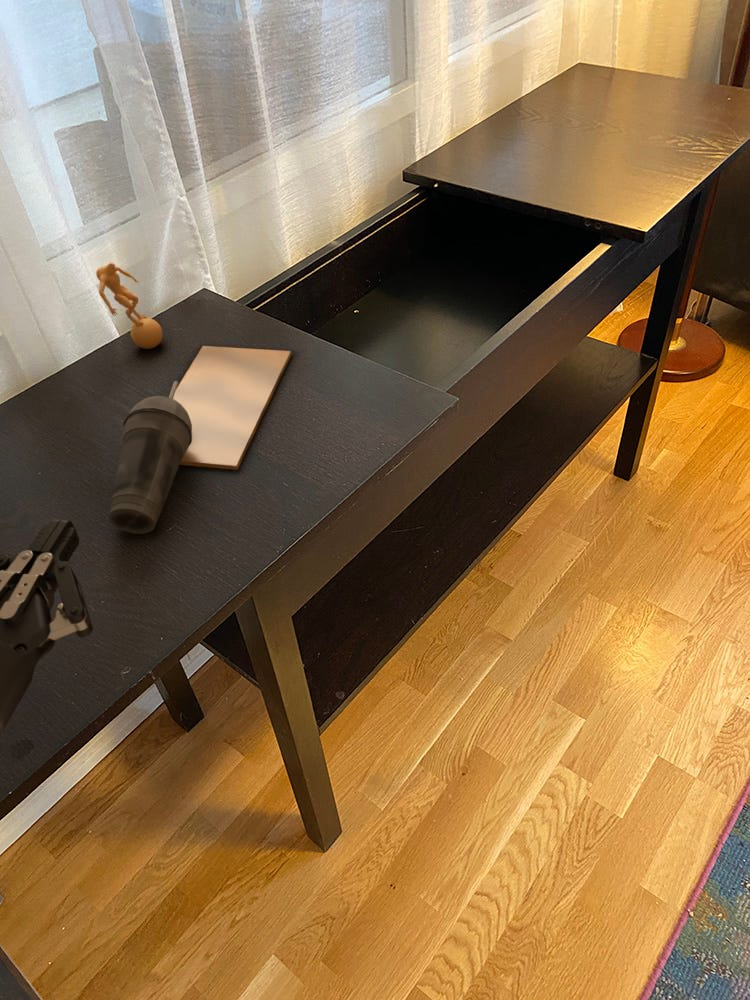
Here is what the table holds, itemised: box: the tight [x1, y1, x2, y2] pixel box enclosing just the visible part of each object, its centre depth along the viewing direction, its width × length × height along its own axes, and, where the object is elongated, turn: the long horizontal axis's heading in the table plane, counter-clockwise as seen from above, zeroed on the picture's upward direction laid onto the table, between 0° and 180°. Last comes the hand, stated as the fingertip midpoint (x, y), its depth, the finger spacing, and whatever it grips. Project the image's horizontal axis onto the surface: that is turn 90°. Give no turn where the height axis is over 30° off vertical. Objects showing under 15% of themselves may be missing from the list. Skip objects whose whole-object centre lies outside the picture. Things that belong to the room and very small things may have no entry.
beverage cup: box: [108, 380, 192, 535], centre depth 83 cm, size 7×7×20 cm
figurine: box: [95, 262, 163, 350], centre depth 100 cm, size 8×6×12 cm
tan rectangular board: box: [173, 345, 292, 471], centre depth 94 cm, size 22×12×1 cm, turn 169°
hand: (66, 526), depth 64 cm, fingers closed
